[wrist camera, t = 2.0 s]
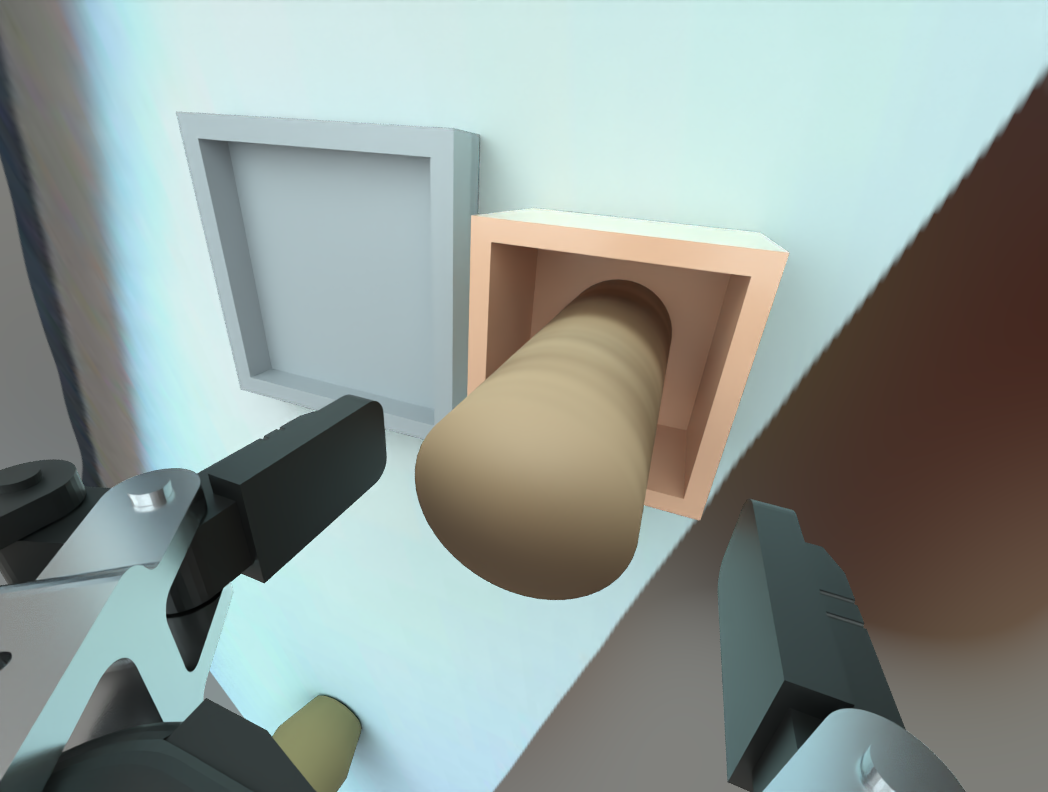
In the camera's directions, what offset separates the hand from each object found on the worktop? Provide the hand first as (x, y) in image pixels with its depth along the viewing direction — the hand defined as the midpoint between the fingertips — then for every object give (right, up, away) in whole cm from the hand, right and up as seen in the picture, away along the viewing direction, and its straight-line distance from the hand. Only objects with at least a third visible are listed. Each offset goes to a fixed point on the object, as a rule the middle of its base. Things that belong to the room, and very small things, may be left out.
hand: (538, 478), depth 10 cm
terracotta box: (+4, +5, +10) cm, 12 cm away
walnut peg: (+4, +4, +9) cm, 11 cm away
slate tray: (-9, +8, +14) cm, 18 cm away
